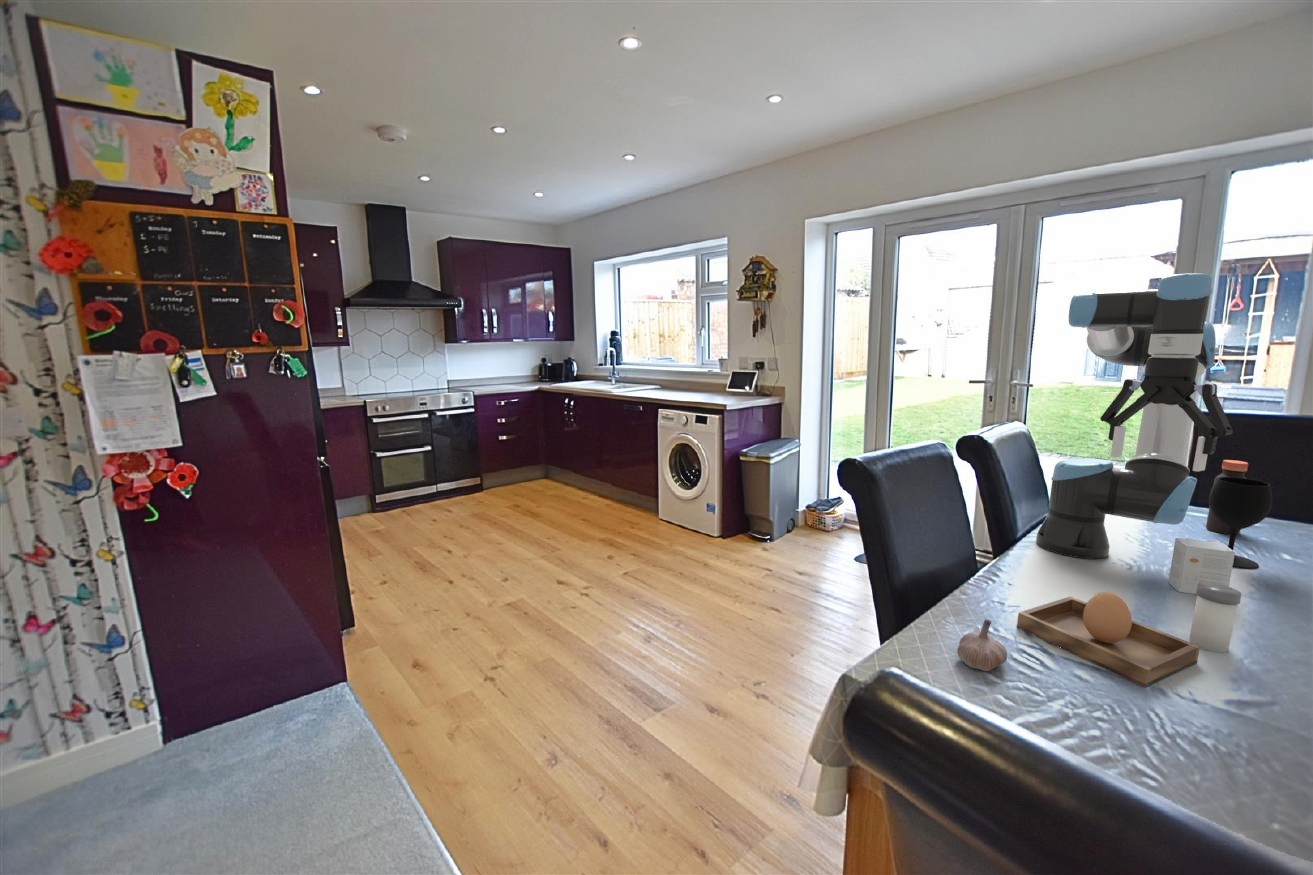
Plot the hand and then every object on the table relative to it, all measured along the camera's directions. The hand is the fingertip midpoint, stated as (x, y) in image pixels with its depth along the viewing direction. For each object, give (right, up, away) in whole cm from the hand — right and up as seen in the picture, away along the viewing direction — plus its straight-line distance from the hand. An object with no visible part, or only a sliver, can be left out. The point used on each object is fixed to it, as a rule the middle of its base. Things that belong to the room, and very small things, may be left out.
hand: (1155, 463), depth 112 cm
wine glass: (+40, -25, +24) cm, 53 cm away
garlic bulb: (-46, -33, -19) cm, 60 cm away
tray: (-21, -31, -13) cm, 40 cm away
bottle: (+59, -21, +45) cm, 78 cm away
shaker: (-2, -32, -13) cm, 34 cm away
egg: (-21, -31, -13) cm, 40 cm away
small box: (+16, -28, +8) cm, 33 cm away
